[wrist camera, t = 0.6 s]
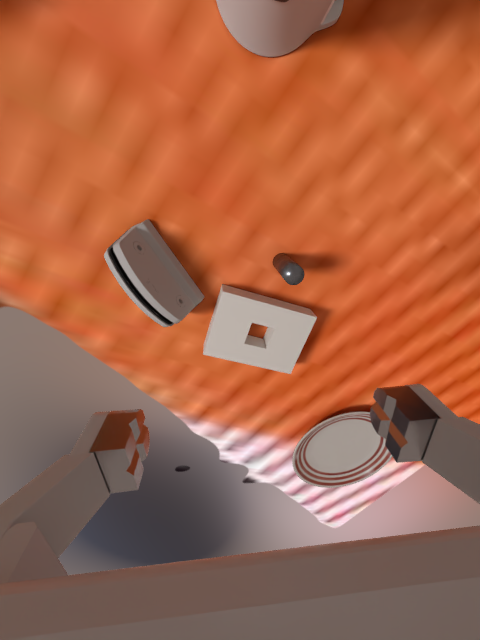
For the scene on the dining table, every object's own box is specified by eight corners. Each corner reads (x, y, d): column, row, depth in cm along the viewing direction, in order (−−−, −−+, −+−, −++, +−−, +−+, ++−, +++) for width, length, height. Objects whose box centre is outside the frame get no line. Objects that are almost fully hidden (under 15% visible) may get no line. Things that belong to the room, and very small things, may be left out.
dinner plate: (412, 414, 68) (421, 424, 65) (360, 483, 78) (366, 494, 75) (316, 393, 62) (321, 403, 59) (273, 470, 73) (276, 482, 70)
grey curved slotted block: (205, 298, 50) (185, 330, 42) (187, 307, 52) (164, 339, 44) (146, 216, 43) (109, 236, 35) (128, 230, 45) (89, 252, 37)
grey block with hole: (222, 284, 49) (222, 291, 45) (310, 308, 53) (317, 317, 49) (203, 343, 54) (203, 354, 50) (285, 362, 58) (290, 373, 54)
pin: (276, 251, 47) (289, 262, 39) (291, 256, 48) (307, 268, 40) (270, 267, 48) (281, 282, 40) (285, 271, 49) (299, 287, 41)
